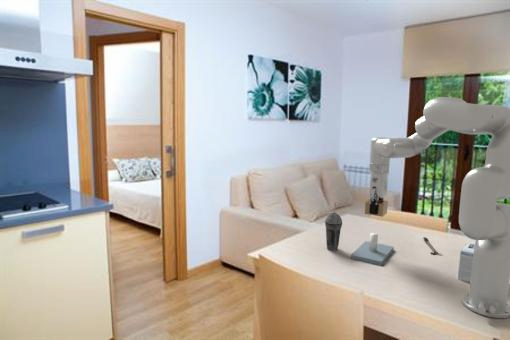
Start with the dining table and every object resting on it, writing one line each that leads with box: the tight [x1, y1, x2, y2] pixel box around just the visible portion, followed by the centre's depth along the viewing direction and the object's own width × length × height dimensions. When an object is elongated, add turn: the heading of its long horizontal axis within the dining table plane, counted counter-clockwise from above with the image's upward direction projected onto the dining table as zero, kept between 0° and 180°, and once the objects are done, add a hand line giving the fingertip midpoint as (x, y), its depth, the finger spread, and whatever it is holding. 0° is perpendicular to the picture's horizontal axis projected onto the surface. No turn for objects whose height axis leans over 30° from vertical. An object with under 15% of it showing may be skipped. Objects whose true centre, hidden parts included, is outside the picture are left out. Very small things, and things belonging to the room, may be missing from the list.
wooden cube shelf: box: [364, 198, 389, 218], centre depth 146 cm, size 7×7×5 cm
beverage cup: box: [324, 202, 343, 252], centre depth 153 cm, size 7×7×20 cm
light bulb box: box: [457, 242, 475, 283], centre depth 128 cm, size 11×7×11 cm, turn 141°
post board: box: [350, 232, 394, 266], centre depth 149 cm, size 20×12×8 cm, turn 147°
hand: (376, 211), depth 146 cm, fingers closed on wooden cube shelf, 7 cm apart
